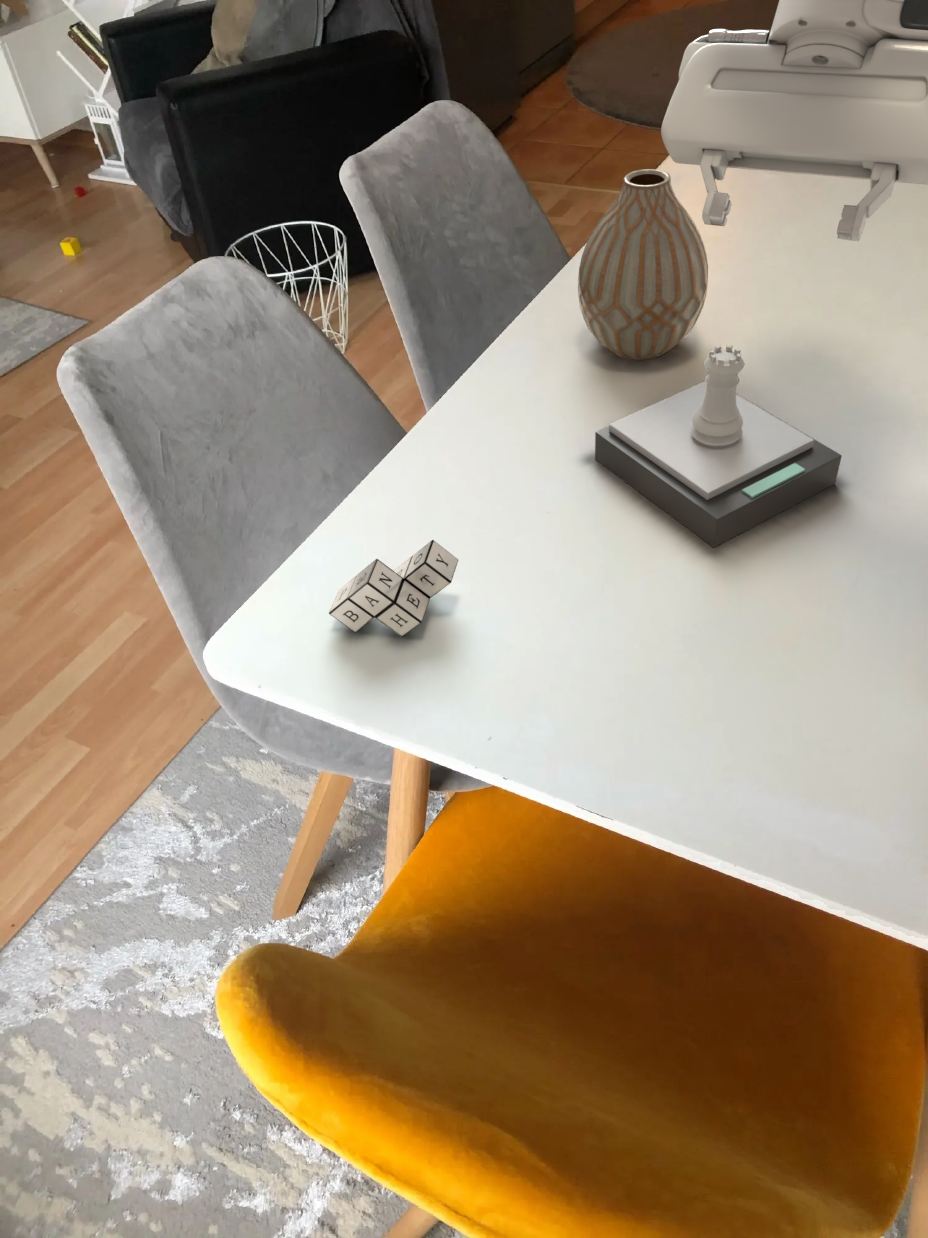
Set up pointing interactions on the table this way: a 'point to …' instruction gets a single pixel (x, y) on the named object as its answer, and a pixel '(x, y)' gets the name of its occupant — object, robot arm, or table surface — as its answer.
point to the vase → (643, 270)
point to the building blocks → (395, 591)
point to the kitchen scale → (715, 465)
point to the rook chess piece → (720, 401)
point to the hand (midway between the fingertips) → (778, 229)
